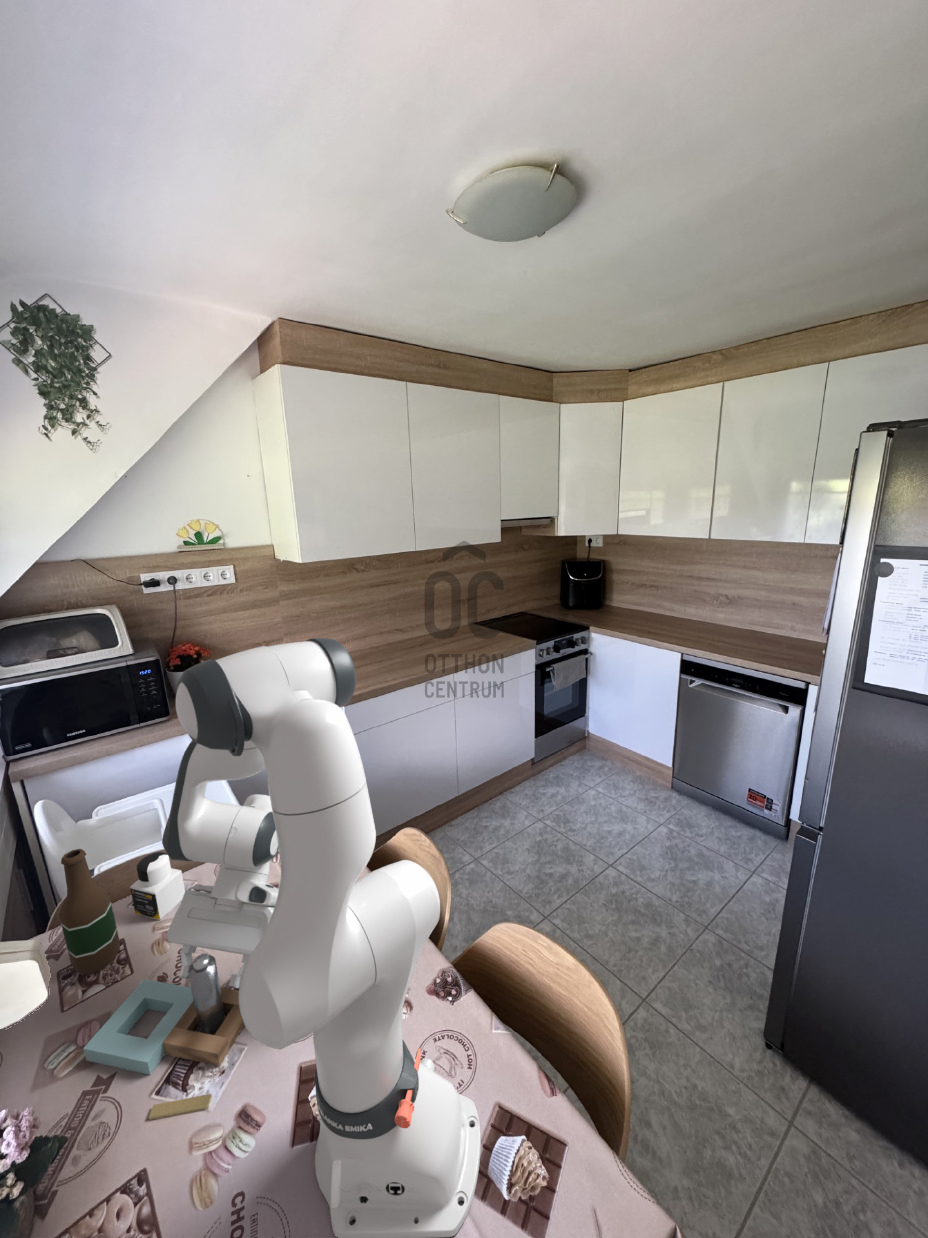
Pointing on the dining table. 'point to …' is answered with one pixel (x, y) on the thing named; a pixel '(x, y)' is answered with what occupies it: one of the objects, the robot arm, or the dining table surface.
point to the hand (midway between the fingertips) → (209, 983)
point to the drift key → (180, 1106)
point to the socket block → (202, 1045)
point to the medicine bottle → (156, 886)
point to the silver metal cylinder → (206, 994)
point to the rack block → (112, 1038)
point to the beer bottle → (87, 918)
